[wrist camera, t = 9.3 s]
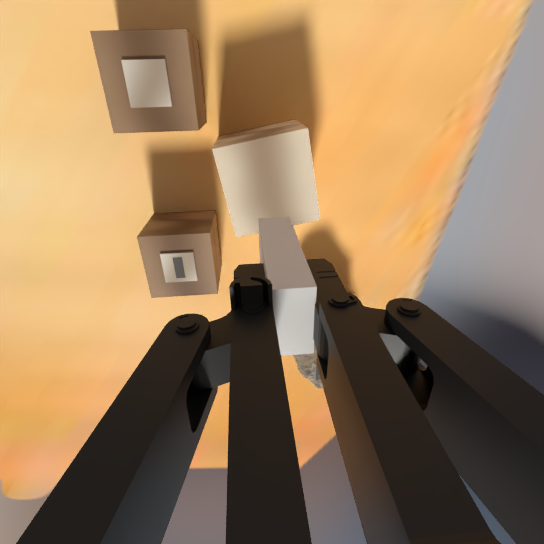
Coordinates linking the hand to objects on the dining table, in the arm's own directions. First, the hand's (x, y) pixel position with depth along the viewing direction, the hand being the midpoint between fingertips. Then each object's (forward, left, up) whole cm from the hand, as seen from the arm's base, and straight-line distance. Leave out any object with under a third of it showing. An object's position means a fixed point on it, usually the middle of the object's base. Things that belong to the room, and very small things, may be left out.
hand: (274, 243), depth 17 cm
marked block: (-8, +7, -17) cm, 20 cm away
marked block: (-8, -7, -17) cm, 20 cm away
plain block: (0, 0, -17) cm, 17 cm away
